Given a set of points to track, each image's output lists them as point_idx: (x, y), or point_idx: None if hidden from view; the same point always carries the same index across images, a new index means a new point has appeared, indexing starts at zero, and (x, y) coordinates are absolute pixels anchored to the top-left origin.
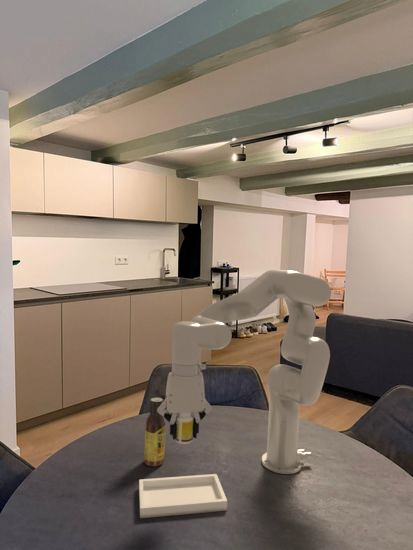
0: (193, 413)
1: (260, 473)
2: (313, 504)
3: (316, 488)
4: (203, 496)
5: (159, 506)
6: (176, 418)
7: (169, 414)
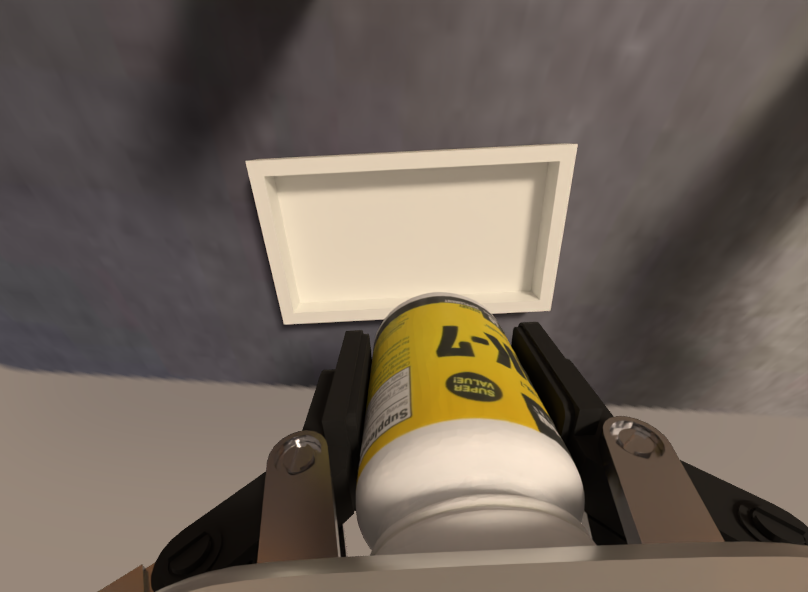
0: (621, 490)
1: (774, 86)
2: (797, 291)
3: None
4: (486, 242)
5: (340, 320)
6: (363, 533)
7: (254, 562)
